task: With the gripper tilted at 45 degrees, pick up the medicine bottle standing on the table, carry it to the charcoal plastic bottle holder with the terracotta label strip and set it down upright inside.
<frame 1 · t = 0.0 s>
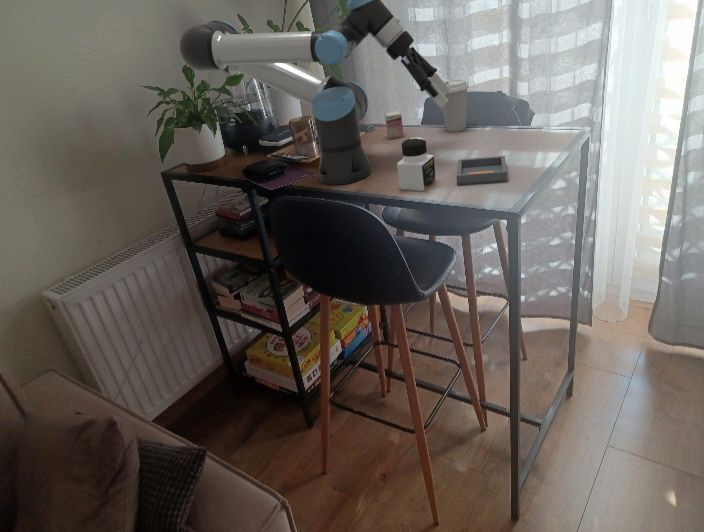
hand: (445, 98, 147), 15 cm above the table, fingers open, 13 cm apart
bottle holder: (481, 174, 134), on the table
coffee cup: (455, 129, 173), on the table
medicine bottle: (418, 186, 135), on the table
small box: (395, 137, 176), on the table
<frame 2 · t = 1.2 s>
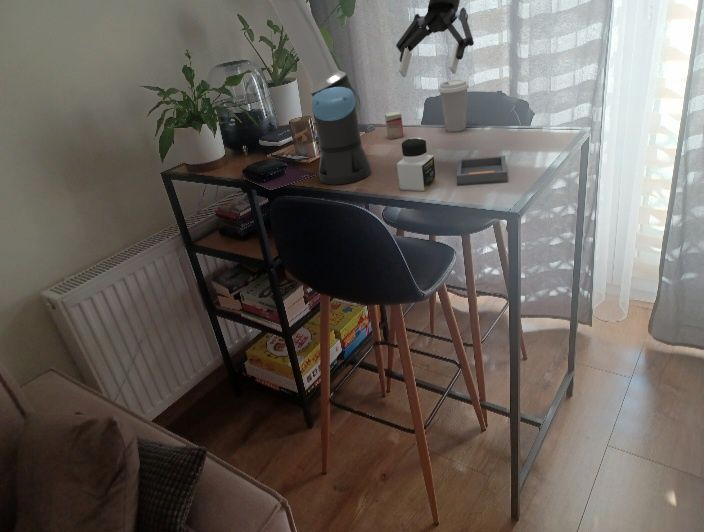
hand: (426, 72, 129), 26 cm above the table, fingers open, 13 cm apart
nothing on the table moved.
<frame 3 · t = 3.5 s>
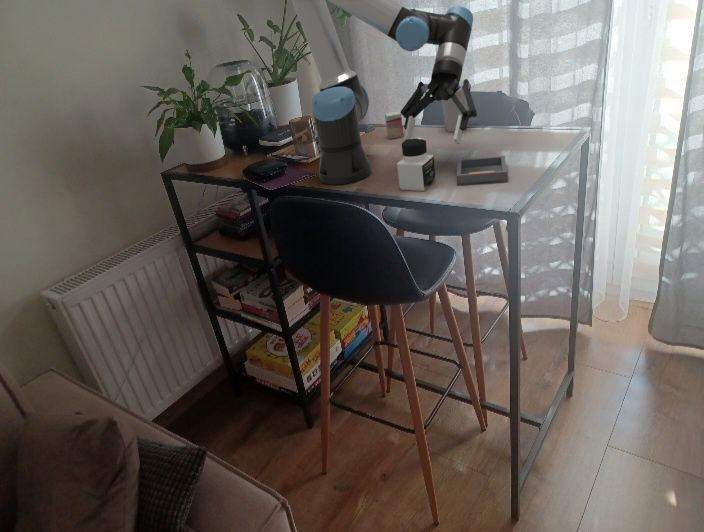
hand: (431, 141, 133), 10 cm above the table, fingers open, 13 cm apart
nothing on the table moved.
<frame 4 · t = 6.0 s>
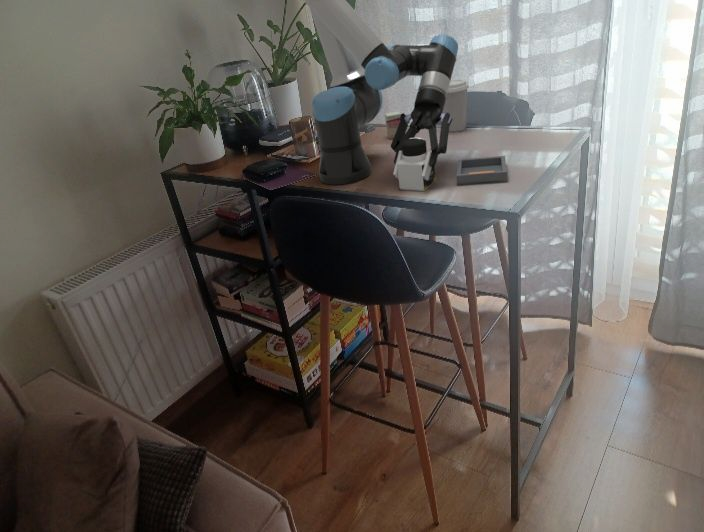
hand: (410, 177, 130), 4 cm above the table, fingers closed on medicine bottle, 7 cm apart
medicine bottle: (417, 186, 135), on the table, touching gripper
everything else where it was.
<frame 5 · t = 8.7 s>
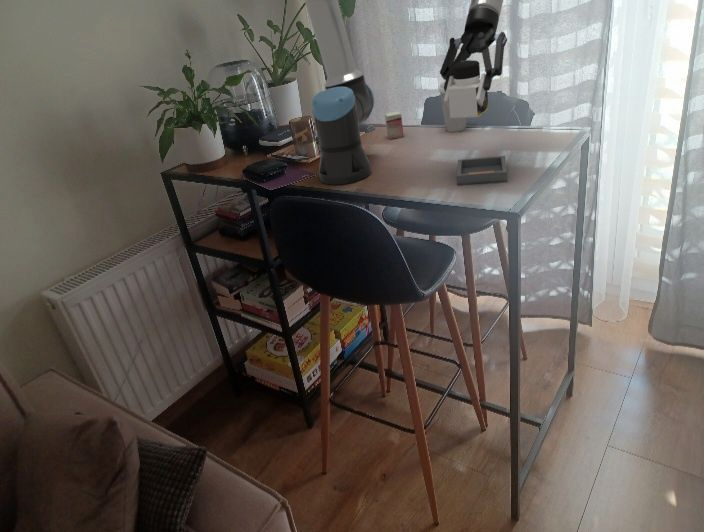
hand: (462, 102, 122), 20 cm above the table, fingers closed on medicine bottle, 7 cm apart
medicine bottle: (469, 114, 126), point 16 cm above the table, touching gripper
everything else where it was.
when the fingers open (6 cm above the table, at t = 11.6 s): medicine bottle drops 2 cm, resting on bottle holder.
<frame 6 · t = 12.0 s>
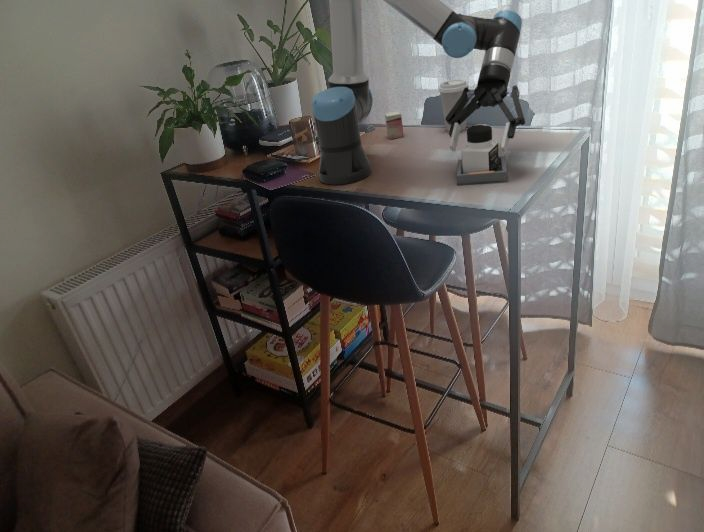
hand: (477, 149, 128), 8 cm above the table, fingers open, 12 cm apart
medicine bottle: (481, 173, 134), resting on bottle holder
everything else where it was.
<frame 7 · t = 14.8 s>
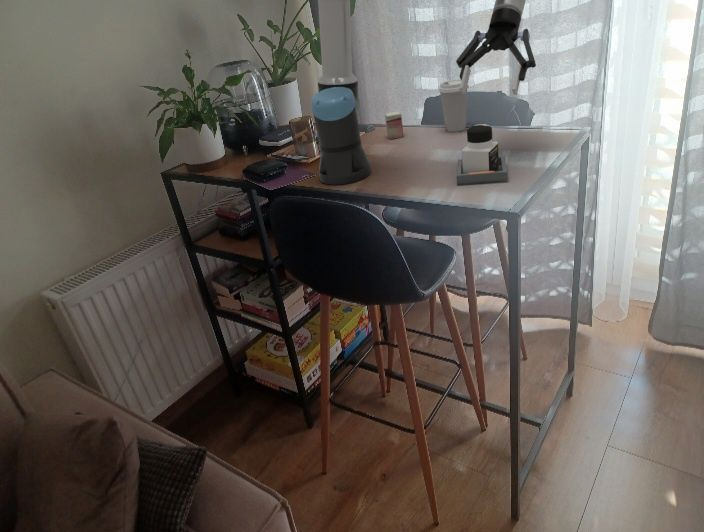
hand: (487, 91, 133), 18 cm above the table, fingers open, 13 cm apart
nothing on the table moved.
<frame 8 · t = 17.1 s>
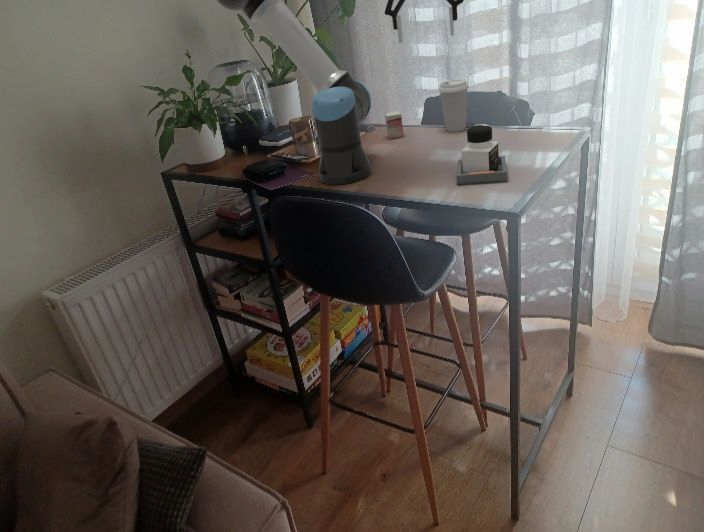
hand: (426, 38, 138), 32 cm above the table, fingers open, 13 cm apart
nothing on the table moved.
at the end: medicine bottle 0.2 cm off-centre on the bottle holder, point 0.3 cm above the bottle holder's base; medicine bottle tilted 0°; the gripper is holding nothing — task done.
